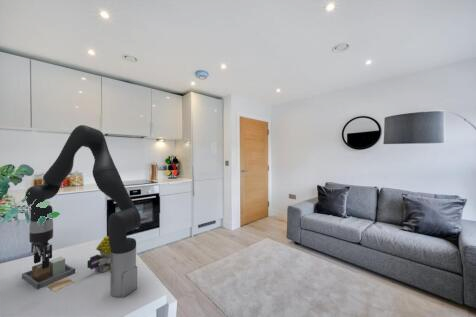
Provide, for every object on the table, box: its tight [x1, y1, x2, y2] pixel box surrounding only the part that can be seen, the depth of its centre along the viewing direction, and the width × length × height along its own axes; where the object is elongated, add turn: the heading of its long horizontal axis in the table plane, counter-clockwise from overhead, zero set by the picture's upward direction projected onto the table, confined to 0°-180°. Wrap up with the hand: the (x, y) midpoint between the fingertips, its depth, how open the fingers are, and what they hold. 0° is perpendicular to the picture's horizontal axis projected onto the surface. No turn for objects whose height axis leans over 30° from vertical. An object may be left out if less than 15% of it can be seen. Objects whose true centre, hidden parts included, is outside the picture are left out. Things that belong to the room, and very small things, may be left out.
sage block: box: [49, 256, 66, 276], centre depth 93 cm, size 4×4×6 cm
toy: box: [86, 235, 111, 274], centre depth 96 cm, size 10×13×15 cm
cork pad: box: [45, 276, 75, 293], centre depth 85 cm, size 7×7×1 cm
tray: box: [21, 263, 76, 290], centre depth 91 cm, size 16×13×2 cm
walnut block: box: [31, 262, 50, 282], centre depth 88 cm, size 4×4×6 cm
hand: (41, 265), depth 89 cm, fingers open, 8 cm apart
